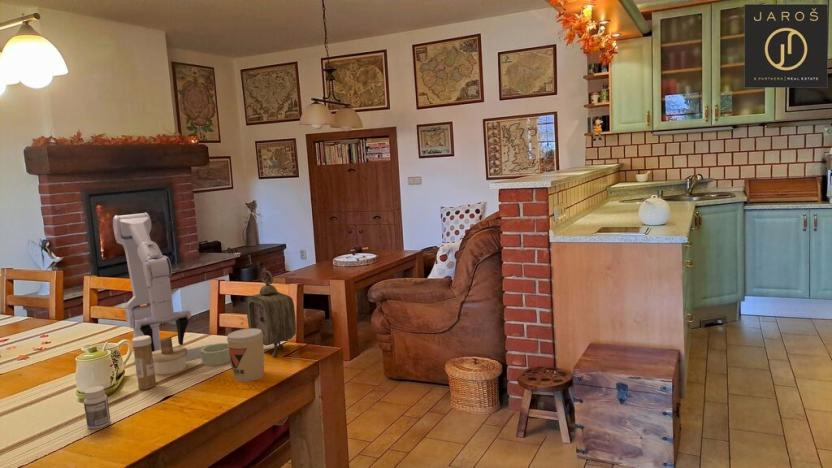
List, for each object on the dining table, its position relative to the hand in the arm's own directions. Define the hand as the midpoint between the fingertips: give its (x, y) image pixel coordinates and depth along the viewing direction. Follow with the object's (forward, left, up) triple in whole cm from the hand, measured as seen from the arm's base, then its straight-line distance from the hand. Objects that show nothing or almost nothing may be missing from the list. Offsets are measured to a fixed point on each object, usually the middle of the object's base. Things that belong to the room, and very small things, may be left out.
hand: (166, 347), depth 170 cm
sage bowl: (+3, +13, -7) cm, 15 cm away
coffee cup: (+23, +15, -7) cm, 28 cm away
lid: (0, 0, -3) cm, 3 cm away
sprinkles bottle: (+10, -8, -7) cm, 14 cm away
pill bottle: (+28, -22, -7) cm, 36 cm away
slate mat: (-9, +11, -7) cm, 16 cm away
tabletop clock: (+7, +29, -7) cm, 31 cm away
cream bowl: (0, 0, -7) cm, 7 cm away
